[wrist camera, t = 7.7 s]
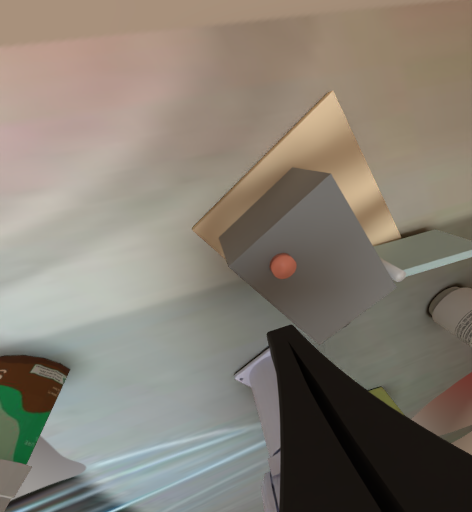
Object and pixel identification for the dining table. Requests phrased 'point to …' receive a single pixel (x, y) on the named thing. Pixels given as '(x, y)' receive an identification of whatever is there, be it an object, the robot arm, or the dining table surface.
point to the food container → (24, 414)
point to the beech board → (316, 159)
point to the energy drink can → (454, 312)
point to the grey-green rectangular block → (422, 253)
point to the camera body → (307, 254)
